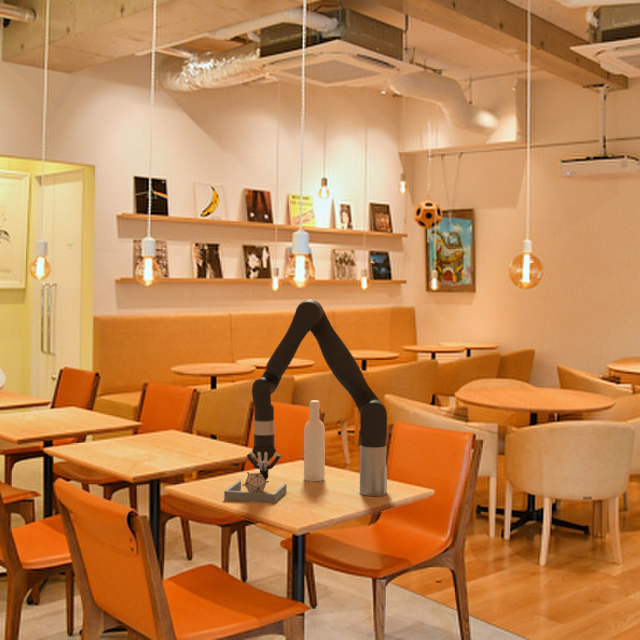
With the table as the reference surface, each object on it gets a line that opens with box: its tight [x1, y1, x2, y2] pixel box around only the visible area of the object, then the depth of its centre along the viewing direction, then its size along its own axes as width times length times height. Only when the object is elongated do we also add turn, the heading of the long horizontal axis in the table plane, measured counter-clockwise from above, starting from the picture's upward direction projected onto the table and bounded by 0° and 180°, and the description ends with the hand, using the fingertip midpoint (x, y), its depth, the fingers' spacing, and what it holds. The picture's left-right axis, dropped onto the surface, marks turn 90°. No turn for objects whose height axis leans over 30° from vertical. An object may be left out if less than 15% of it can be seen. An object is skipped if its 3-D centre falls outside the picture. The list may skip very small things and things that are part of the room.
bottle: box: [303, 399, 326, 482], centre depth 318 cm, size 8×8×30 cm
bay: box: [223, 480, 288, 504], centre depth 294 cm, size 18×15×3 cm
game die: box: [241, 471, 269, 493], centre depth 296 cm, size 9×8×10 cm
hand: (264, 480), depth 303 cm, fingers closed
